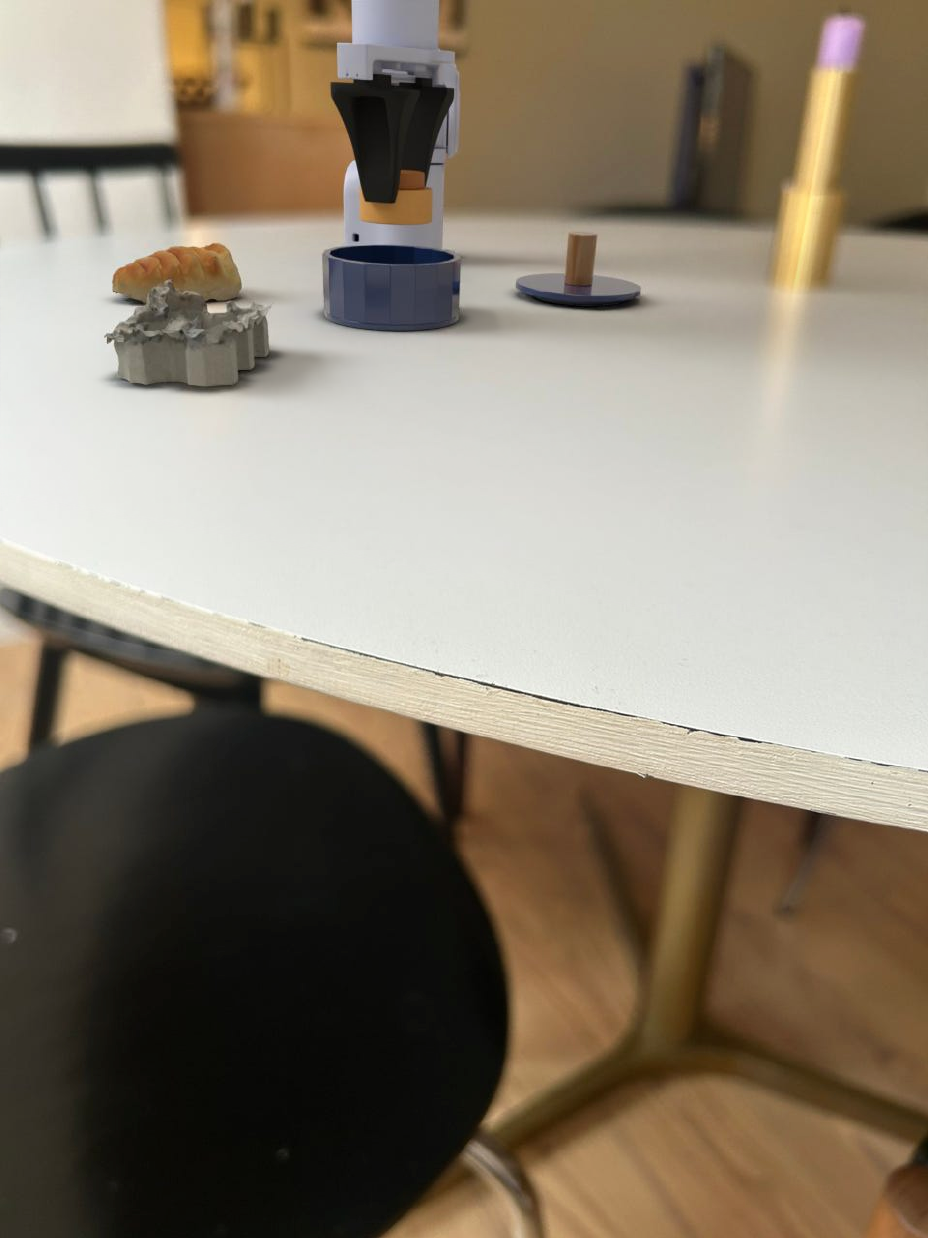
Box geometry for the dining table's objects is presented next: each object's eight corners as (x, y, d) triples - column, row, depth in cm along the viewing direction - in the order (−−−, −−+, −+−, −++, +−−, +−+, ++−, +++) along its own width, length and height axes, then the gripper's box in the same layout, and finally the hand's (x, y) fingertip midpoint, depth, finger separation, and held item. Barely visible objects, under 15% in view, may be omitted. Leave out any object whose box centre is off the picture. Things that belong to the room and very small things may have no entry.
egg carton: (174, 342, 62) (167, 276, 61) (286, 350, 62) (283, 284, 60) (96, 383, 53) (85, 306, 51) (227, 394, 52) (221, 316, 50)
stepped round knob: (348, 221, 68) (347, 171, 66) (376, 214, 72) (375, 167, 70) (417, 226, 66) (418, 176, 65) (441, 219, 71) (443, 171, 69)
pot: (301, 321, 69) (298, 257, 67) (357, 298, 78) (356, 240, 76) (432, 336, 67) (434, 269, 65) (475, 310, 75) (477, 251, 73)
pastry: (134, 309, 70) (127, 254, 69) (100, 295, 75) (92, 243, 73) (250, 298, 76) (246, 247, 74) (211, 285, 80) (207, 236, 78)
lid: (500, 301, 79) (504, 235, 76) (531, 281, 88) (536, 221, 85) (628, 314, 76) (636, 246, 74) (647, 292, 85) (655, 231, 83)
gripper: (415, -45, 55) (412, 212, 61) (486, -17, 67) (477, 195, 74) (302, -46, 57) (311, 204, 63) (392, -19, 69) (391, 188, 75)
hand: (394, 199), depth 68 cm, fingers closed on stepped round knob, 5 cm apart
